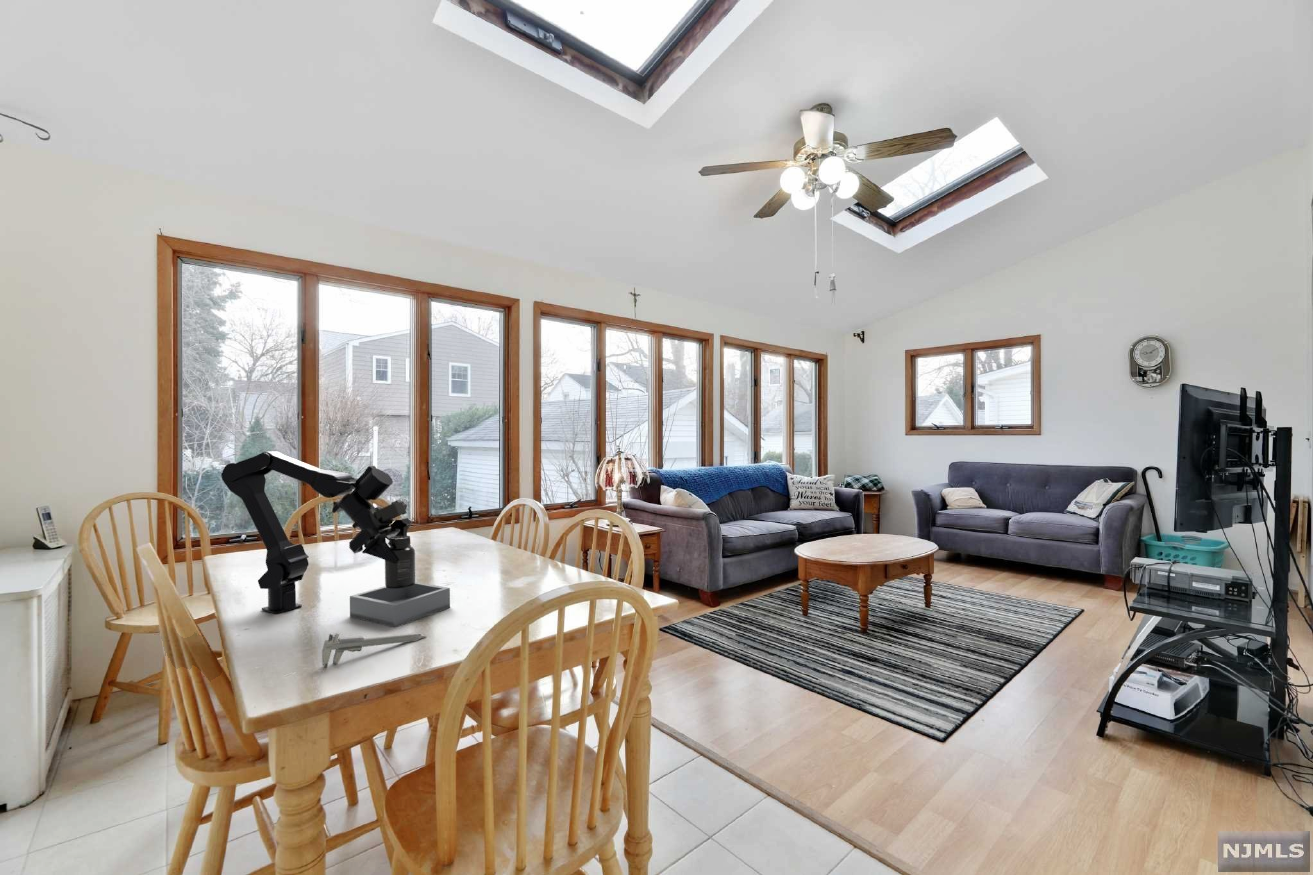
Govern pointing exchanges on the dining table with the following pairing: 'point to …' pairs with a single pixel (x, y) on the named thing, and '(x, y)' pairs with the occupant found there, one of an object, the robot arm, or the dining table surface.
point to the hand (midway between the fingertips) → (405, 559)
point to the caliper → (360, 644)
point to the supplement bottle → (400, 564)
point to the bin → (399, 603)
